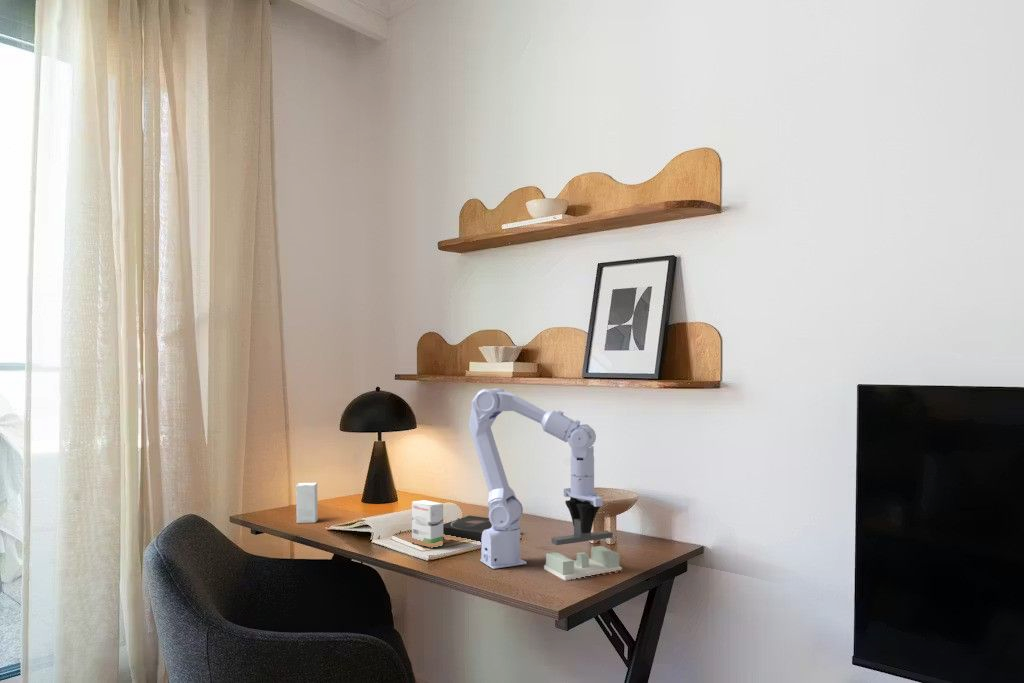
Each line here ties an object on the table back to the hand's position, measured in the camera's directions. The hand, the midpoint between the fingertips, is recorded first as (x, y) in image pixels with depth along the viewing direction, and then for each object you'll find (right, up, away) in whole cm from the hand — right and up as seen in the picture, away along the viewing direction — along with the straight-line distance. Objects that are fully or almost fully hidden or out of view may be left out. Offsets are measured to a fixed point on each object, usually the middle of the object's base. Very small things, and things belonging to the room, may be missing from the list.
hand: (582, 531), depth 168 cm
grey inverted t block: (0, -2, 0) cm, 2 cm away
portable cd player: (-28, -11, +33) cm, 44 cm away
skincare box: (-82, -11, +50) cm, 97 cm away
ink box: (-41, -10, +23) cm, 48 cm away
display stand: (0, -9, 0) cm, 9 cm away
